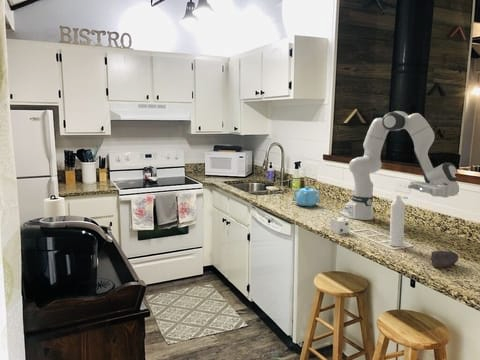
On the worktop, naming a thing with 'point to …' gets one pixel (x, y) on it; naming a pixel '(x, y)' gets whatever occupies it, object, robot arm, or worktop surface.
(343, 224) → the die
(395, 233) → the white bottle
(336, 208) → the worktop surface
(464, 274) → the worktop surface
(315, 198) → the decorative pot
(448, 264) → the perforated stone tool
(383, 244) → the game track
